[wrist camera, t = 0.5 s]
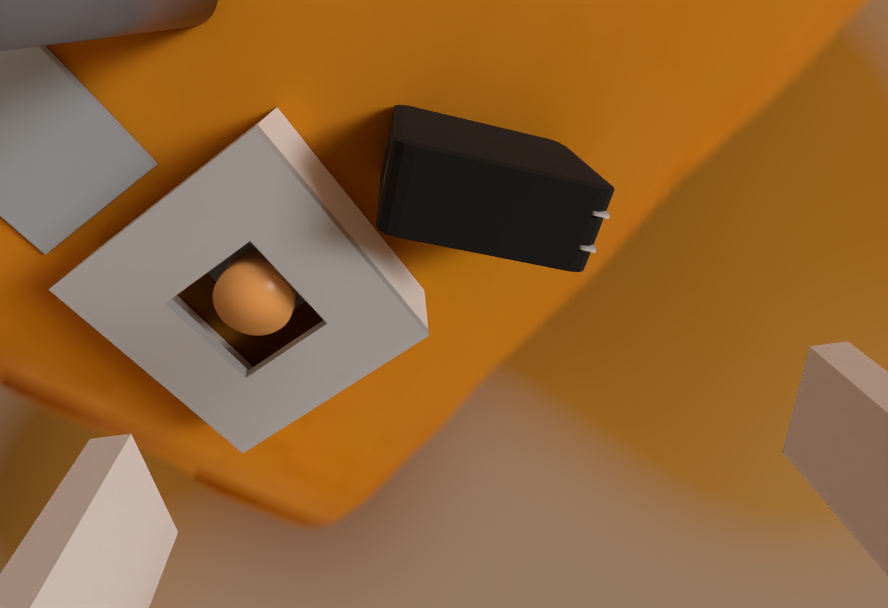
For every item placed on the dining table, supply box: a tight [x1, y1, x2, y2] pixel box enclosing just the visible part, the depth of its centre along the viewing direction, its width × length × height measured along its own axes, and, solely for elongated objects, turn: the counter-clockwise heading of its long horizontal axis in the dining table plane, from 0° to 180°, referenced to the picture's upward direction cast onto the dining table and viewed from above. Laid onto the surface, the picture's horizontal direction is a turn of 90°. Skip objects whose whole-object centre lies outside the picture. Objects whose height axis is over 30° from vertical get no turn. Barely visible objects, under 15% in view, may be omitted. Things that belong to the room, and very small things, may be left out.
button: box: [213, 252, 298, 336], centre depth 33 cm, size 4×4×2 cm
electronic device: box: [376, 105, 614, 272], centre depth 29 cm, size 4×10×10 cm, turn 77°
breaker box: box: [49, 107, 429, 453], centre depth 33 cm, size 14×14×6 cm
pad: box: [0, 46, 158, 255], centre depth 31 cm, size 9×9×1 cm
